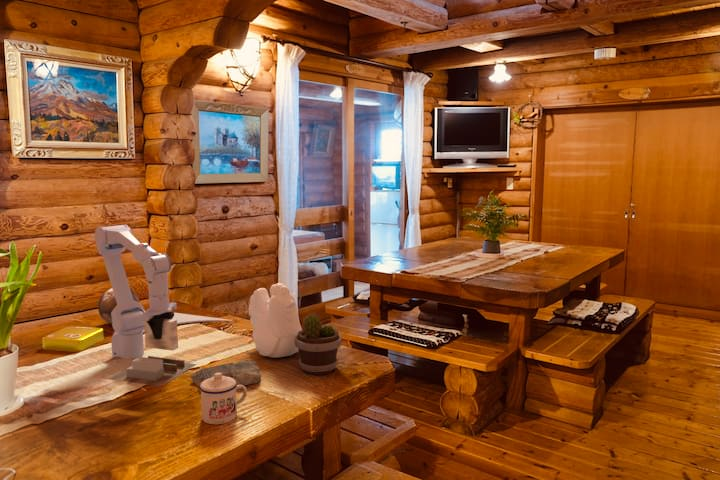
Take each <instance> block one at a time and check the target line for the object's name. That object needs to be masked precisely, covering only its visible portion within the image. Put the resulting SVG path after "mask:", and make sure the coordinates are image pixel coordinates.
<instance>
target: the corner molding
mask: <svg viewBox="0 0 720 480" xmlns="http://www.w3.org/2000/svg"><path fill="white" fill-rule="evenodd" d="M172 319H174V320H177V326H178V325H182V324H190V323H201V322H202V323H203V322H233V321H234V320H233V319H227V318H226V319H225V318H219V317H214V316H213V317H211V316H204V315H196V314H188V313H180V312H174V317H173V318H172ZM143 334H145V330H143Z"/></svg>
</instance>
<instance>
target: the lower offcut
mask: <svg viewBox="0 0 720 480" xmlns="http://www.w3.org/2000/svg"><path fill="white" fill-rule="evenodd" d="M125 370H126V372H127V377H133V378H140V379H147V380H154V381H156V380H157V379H159V378H161V377H163V376H164V368H162V369H160V370H158V371H157V372H150V371H143V370H135V369H132V365H131V366H128V367H127V368H126V369H125Z"/></svg>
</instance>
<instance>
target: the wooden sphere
mask: <svg viewBox="0 0 720 480" xmlns="http://www.w3.org/2000/svg"><path fill="white" fill-rule="evenodd" d="M130 290H131V293H132V297H133V300H134V301H136V302H138V303H140V299H139V296H138V295H137V294H136V292H135V291H134V290H133V289H131V288H130ZM140 304H141V303H140ZM116 306H117V302H116V299H115V296H114V292H113V289H112V287H111V288H109V289H107V290H105V291H104V293H102V295H101V296H100V298H99V300H98V304H97V309H98V313H99V315H100V317H101V318H102V320H104V322H106V323H108V324H110V325H112V316H111V312H112V311H113V309H114V308H115V307H116ZM128 312H131V311H128ZM124 313H126V312H124ZM121 314H122V313H121Z"/></svg>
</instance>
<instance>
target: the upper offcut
mask: <svg viewBox="0 0 720 480" xmlns="http://www.w3.org/2000/svg"><path fill="white" fill-rule="evenodd" d="M131 363H132V364H131V366H132V369H135V370H143V371H150V372H157V371H158V370H160V369H162V368H163V360H161V359H153V358H148V357H144V356H141V357H138V358H134V359H133V360H132V361H131Z"/></svg>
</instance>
